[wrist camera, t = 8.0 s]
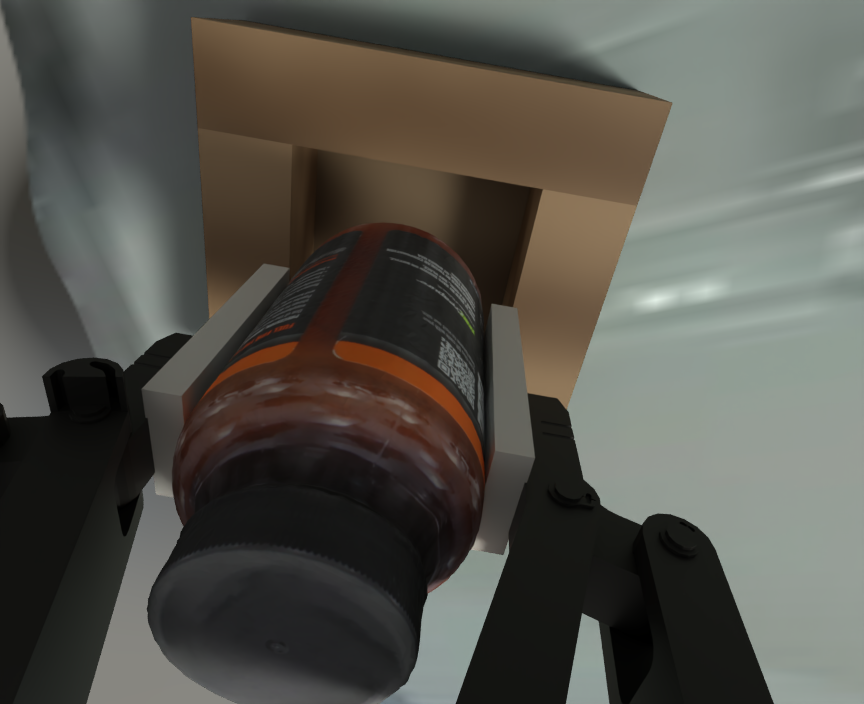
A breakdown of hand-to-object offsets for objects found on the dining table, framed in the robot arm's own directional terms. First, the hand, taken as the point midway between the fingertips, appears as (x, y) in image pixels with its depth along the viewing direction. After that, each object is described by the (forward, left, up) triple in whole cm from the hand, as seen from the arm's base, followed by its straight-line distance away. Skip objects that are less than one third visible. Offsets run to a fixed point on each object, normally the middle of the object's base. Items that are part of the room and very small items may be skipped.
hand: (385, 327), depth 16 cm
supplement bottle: (0, 0, -2) cm, 2 cm away
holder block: (0, 0, -7) cm, 7 cm away
